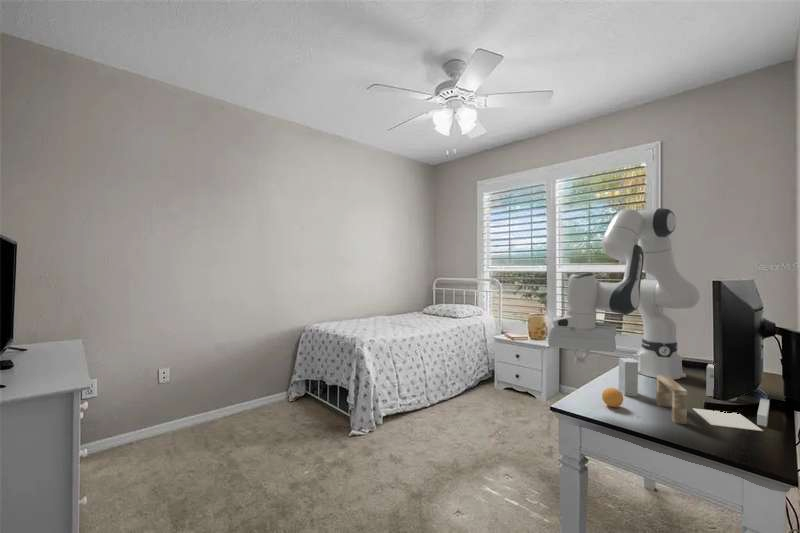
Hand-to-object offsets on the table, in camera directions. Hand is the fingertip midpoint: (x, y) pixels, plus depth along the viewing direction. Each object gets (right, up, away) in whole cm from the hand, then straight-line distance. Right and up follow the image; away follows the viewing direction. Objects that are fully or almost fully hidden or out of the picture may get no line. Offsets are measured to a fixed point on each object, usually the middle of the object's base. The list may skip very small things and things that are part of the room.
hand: (580, 362), depth 122 cm
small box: (+52, -14, +6) cm, 54 cm away
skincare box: (+22, -14, +9) cm, 27 cm away
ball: (+9, -11, -3) cm, 14 cm away
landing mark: (+38, -14, -12) cm, 42 cm away
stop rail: (+51, -14, -10) cm, 54 cm away
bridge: (+24, -14, -8) cm, 29 cm away
